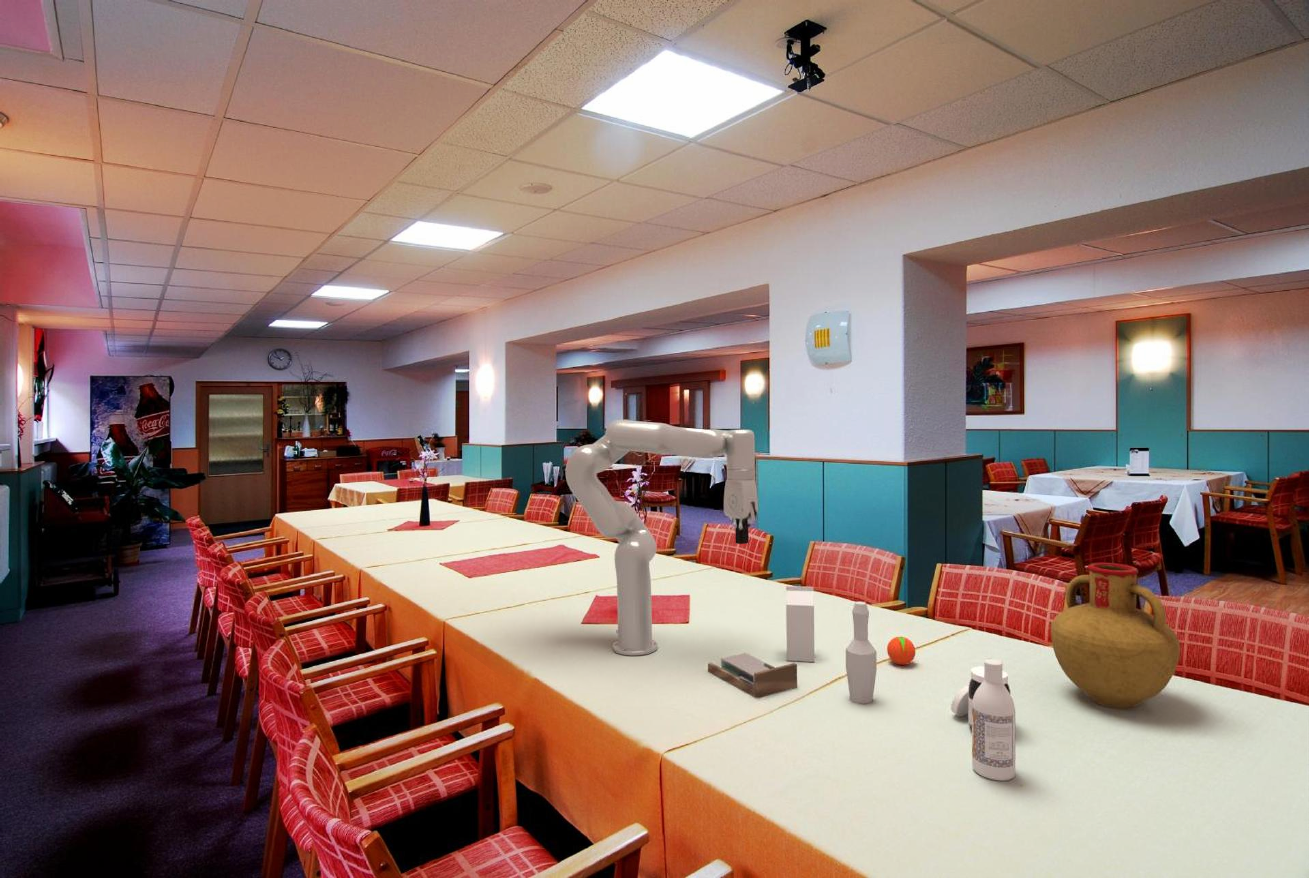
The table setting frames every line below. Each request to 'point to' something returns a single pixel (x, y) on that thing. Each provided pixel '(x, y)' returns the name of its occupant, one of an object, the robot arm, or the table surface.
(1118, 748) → the table surface
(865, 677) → the faceted bottle
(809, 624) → the milk carton
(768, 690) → the lane
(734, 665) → the tin
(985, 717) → the bath foam
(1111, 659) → the vase
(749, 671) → the white square block
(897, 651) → the clementine
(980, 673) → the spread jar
